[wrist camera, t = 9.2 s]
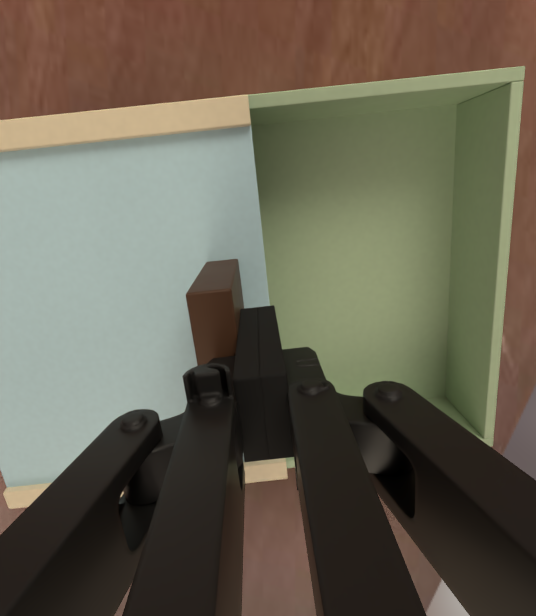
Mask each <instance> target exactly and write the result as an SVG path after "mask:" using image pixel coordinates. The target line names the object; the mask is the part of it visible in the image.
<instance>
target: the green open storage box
mask: <svg viewBox="0 0 536 616" xmlns="http://www.w3.org/2000/svg"><path fill="white" fill-rule="evenodd" d="M524 75H525V66H519V67H509V68H500V69H490V70H481V71H471V72H462V73H452V74H443V75H433V76H423V77H414V78H404V79H395V80H385V81H376V82H366V83H357V84H347V85H337V86H328V87H318V88H309V89H299V90H290V91H280V92H271V93H261V94H251V95H248V99H249V109H250V119H251V129H252V139H253V148H254V158H255V168H256V177H257V187H258V196H259V206H260V216H261V225H262V235H263V245H264V254H265V264H266V273H267V283H268V293H269V302H270V306H272V305H274V307H275V312H276V318H277V323H278V329H279V335H280V340H281V346H282V349H291V348H300V347H309V348H311V349H312V350H314V351H315V352H316V354H317V357H318V359H319V362H320V365H321V367H322V370H323V373H324V375H325V378H326V380H327V381H330V382H331V383H332V384H333V385H334V387H335V390H336V392H338V393H341V394H344V395H350V396H362V397H363V390H364V388H365V387H366V386H368V385H369V384H372V383H375V382H381V381H394V382H397V383H401V384H404V385H406V386H408V387H410V388H411V389H413V390H414V391H415V392H417V393H418V394H419V395H421V396H422V397H424V398H425V399H426V400H428V401H429V402H430V403H432V404H433V405H434V406H436V407H437V408H438V409H440V410H441V411H442V412H444V413H445V414H446V415H448V416H449V417H451V418H452V419H453V420H455V421H456V422H457V423H459V424H460V425H461V426H463V427H464V428H465V429H467V430H468V431H469V432H471V433H472V434H474V435H475V436H476V437H478V438H479V439H480V440H482V441H483V442H484V443H486V444H487V445H488V446H493V437H494V426H495V414H496V402H497V391H498V379H499V367H500V355H501V344H502V332H503V320H504V308H505V297H506V285H507V273H508V261H509V249H510V238H511V226H512V214H513V202H514V191H515V179H516V167H517V155H518V143H519V132H520V120H521V108H522V96H523V85H524V82H523V80H524ZM286 465H287V468H295V462H294V457H288V458H286Z"/></svg>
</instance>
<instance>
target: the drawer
mask: <svg viewBox="0 0 536 616" xmlns="http://www.w3.org/2000/svg"><path fill="white" fill-rule="evenodd" d="M263 306H270V302H269V293H268V283H267V273H266V264H265V254H264V245H263V235H262V225H261V216H260V206H259V196H258V187H257V177H256V168H255V158H254V148H253V139H252V129H251V119H250V109H249V99H248V95H237V96H227V97H218V98H208V99H199V100H189V101H180V102H170V103H160V104H151V105H141V106H132V107H122V108H113V109H103V110H94V111H84V112H74V113H65V114H55V115H46V116H36V117H27V118H17V119H7V120H0V470H1V473H2V476H3V478H4V481H5V484H6V486H7V488H6V489H5V491H4V492H3V495H4V497H5V500H6V503H7V505H8V508H9V509H14V508H23V507H29V506H30V505H31V504H32V503H33V502H34V501H35V500H36V499H37V498H38V497H39V496H40V495H41V494H42V492H43V491H44V490H45V489H46V488H47V487H48V486H49V485H50V484H51V483H52V482H53V481H54V480H55V479H56V478H57V477H58V476H59V475H60V474H61V473H62V472H63V471H64V470H65V469H66V468H67V467H68V466H69V465H70V464H71V463H72V462H73V461H74V460H75V459H76V458H77V457H78V456H79V455H80V454H81V453H82V452H83V451H84V450H85V449H86V448H87V447H88V446H89V445H90V444H91V443H92V442H93V441H94V440H95V439H96V437H97V436H98V435H99V434H100V433H101V432H102V431H103V430H104V429H105V428H106V427H107V426H108V425H109V424H110V423H111V422H112V421H114V420H115V419H116V418H118V417H119V416H121V415H123V414H125V413H127V412H129V411H133V410H137V409H139V410H140V409H150V410H154V411H155V412H157V413H158V415H159V419H160V421H161V420H164V419H168V418H171V417H174V416H177V415H179V414H181V413H183V412H185V408H186V405H187V398H186V393H185V388H184V382H183V377H182V376H183V375H184V374H185V372H186V371H188V370H190V369H191V368H193V367H196V366H199V365H203V364H207V363H208V362H209V361H210V360H211V359H212V358H219V357H228V356H235V354H236V345H237V336H238V328H239V319H240V310H241V309H245V308H254V307H263ZM243 463H244V470H245V483H253V482H262V481H272V480H281V479H287V478H288V475H287V465H286V458H279V459H270V460H261V461H252V462H245V461H244V454H243ZM123 494H124V492H122V494H121V496H120V497H122V495H123Z"/></svg>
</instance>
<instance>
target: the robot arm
mask: <svg viewBox="0 0 536 616" xmlns="http://www.w3.org/2000/svg"><path fill="white" fill-rule="evenodd" d="M182 377H183V382H184V388H185V393H186V398H187V405H186V408H185V412H183V413H181V414H179V415H177V416H174V417H171V418H168V419H164V420H161V421H160V419H159V415H158V413H157V412H155V411H154V410H150V409H140V410H139V409H137V410H133V411H129V412H127V413H125V414H123V415H121V416H119V417H118V418H116V419H115V420H114V421H112V422H111V423H110V424H109V425H108V426H107V427H106V428H105V429H104V430H103V431H102V432H101V433H100V434H99V435H98V436H97V437H96V439H95V440H94V441H93V442H92V443H91V444H90V445H89V446H88V447H87V448H86V449H85V450H84V451H83V452H82V453H81V454H80V455H79V456H78V457H77V458H76V459H75V460H74V461H73V462H72V463H71V464H70V465H69V466H68V467H67V468H66V469H65V470H64V471H63V472H62V473H61V474H60V475H59V476H58V477H57V478H56V479H55V480H54V481H53V482H52V483H51V484H50V485H49V486H48V487H47V488H46V489H45V490H44V491H43V492H42V494H41V495H40V496H39V497H38V498H37V499H36V500H35V501H34V502H33V503H32V504H31V505H30V506H29V507H28V508H27V509H26V510H25V511H24V512H23V513H22V514H21V515H20V516H19V517H18V518H17V519H16V520H15V521H14V522H13V523H12V524H11V525H10V526H9V527H8V528H7V529H6V530H5V531H4V532H3V533H2V534H1V535H0V616H114V614H115V613H116V611H117V609H118V607H119V605H120V603H121V602H122V600H123V598H124V596H125V594H126V592H127V590H128V589H129V587H130V585H131V583H132V586H131V589H130V592H129V595H128V599H127V602H126V605H125V608H124V612H123V615H122V616H241V612H242V574H243V535H244V497H245V470H244V463H243V454H244V461H245V462H252V461H261V460H270V459H279V458H288V457H294V462H295V472H296V482H297V490H298V491H299V498H300V505H301V512H302V519H303V526H304V532H305V539H306V546H307V553H308V560H309V567H310V574H311V581H312V587H313V594H314V601H315V608H316V615H317V616H426V613H425V611H424V608H423V606H422V603H421V601H420V598H419V596H418V593H417V591H416V588H415V586H414V583H413V581H412V578H411V576H410V574H409V571H408V569H407V566H406V564H405V561H404V559H403V556H402V554H401V551H400V549H399V546H398V544H397V541H396V539H395V536H394V534H393V531H392V529H391V526H390V524H389V521H388V519H387V516H386V514H385V511H384V509H383V507H382V504H381V502H380V499H379V497H378V495H379V496H380V497H381V499H382V500H383V501H384V503H385V504H386V505H387V507H388V508H389V509H390V511H391V512H392V513H393V515H394V516H395V517H396V519H397V520H398V521H399V522H400V524H401V525H402V526H403V528H404V529H405V530H406V532H407V533H408V534H409V536H410V537H411V538H412V540H413V541H414V542H415V544H416V545H417V546H418V548H419V549H420V550H421V552H422V553H423V554H424V556H425V557H426V558H427V560H428V561H429V562H430V564H431V565H432V566H433V568H434V569H435V570H436V571H437V573H438V574H439V575H440V577H441V578H442V579H443V581H444V582H445V583H446V585H447V586H448V587H449V589H450V590H451V591H452V593H453V594H454V595H455V597H456V598H457V599H458V601H459V602H460V603H461V605H462V606H463V607H464V608H465V610H466V611H467V612H468V614H469V615H470V616H536V481H535V480H534V479H533V478H532V477H530V476H529V475H528V474H526V473H525V472H523V471H522V470H521V469H519V468H518V467H517V466H515V465H514V464H513V463H511V462H510V461H509V460H507V459H506V458H505V457H503V456H502V455H501V454H499V453H498V452H497V451H495V450H494V449H492V448H491V447H490V446H488V445H487V444H486V443H484V442H483V441H482V440H480V439H479V438H478V437H476V436H475V435H474V434H472V433H471V432H469V431H468V430H467V429H465V428H464V427H463V426H461V425H460V424H459V423H457V422H456V421H455V420H453V419H452V418H451V417H449V416H448V415H446V414H445V413H444V412H442V411H441V410H440V409H438V408H437V407H436V406H434V405H433V404H432V403H430V402H429V401H428V400H426V399H425V398H424V397H422V396H421V395H419V394H418V393H417V392H415V391H414V390H413V389H411V388H410V387H408V386H406V385H404V384H401V383H397V382H394V381H381V382H375V383H372V384H369V385H368V386H366V387H365V388H364V390H363V397H362V396H350V395H344V394H341V393H338V392H336V390H335V387H334V385H333V384H332V383H331V382H330V381H327V380H326V378H325V375H324V373H323V370H322V367H321V365H320V362H319V359H318V357H317V354H316V352H315V351H314V350H312V349H311V348H309V347H300V348H291V349H282V346H281V340H280V335H279V329H278V323H277V318H276V312H275V307H274V305H272V306H263V307H254V308H245V309H241V310H240V319H239V328H238V336H237V345H236V354H235V356H228V357H219V358H212V359H211V360H210V361H209V362H208V363H207V364H203V365H199V366H196V367H193V368H191V369H190V370H188V371H186V372H185V374H184V375H183V376H182ZM122 492H124V494H123V495H122V497H121V498H120V496H121V494H122ZM377 493H378V494H377ZM132 581H133V582H132Z"/></svg>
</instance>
